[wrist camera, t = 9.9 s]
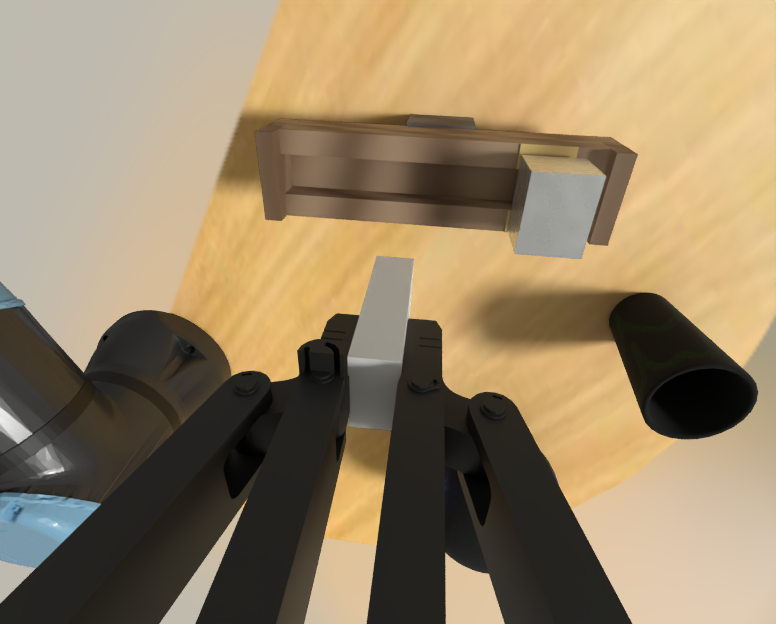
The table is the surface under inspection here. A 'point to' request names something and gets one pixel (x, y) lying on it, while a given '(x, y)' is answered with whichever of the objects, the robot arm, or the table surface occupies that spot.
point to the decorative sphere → (462, 525)
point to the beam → (420, 171)
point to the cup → (678, 370)
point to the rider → (554, 206)
